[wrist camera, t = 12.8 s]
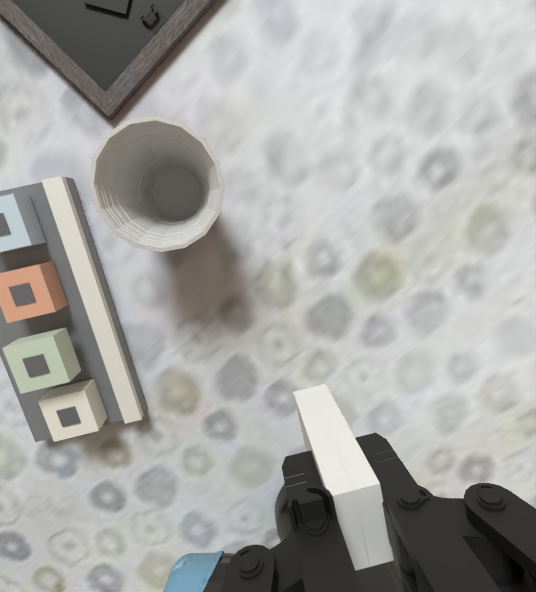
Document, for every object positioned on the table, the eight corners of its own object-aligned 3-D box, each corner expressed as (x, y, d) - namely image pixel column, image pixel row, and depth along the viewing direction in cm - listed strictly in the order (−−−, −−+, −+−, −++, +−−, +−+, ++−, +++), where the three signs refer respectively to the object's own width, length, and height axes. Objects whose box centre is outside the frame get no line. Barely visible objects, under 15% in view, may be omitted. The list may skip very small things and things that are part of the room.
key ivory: (107, 416, 45) (98, 431, 42) (65, 427, 45) (53, 442, 42) (94, 378, 44) (83, 390, 41) (51, 389, 44) (37, 402, 41)
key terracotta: (68, 304, 42) (55, 311, 39) (23, 315, 42) (6, 323, 39) (52, 260, 41) (37, 264, 38) (6, 271, 41) (-13, 276, 38)
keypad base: (147, 407, 48) (141, 419, 45) (43, 432, 47) (31, 447, 44) (73, 178, 42) (61, 176, 39) (-47, 205, 41) (-69, 204, 38)
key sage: (81, 370, 42) (69, 382, 38) (35, 381, 41) (19, 394, 38) (66, 327, 40) (52, 336, 37) (18, 338, 40) (1, 348, 37)
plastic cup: (153, 257, 44) (124, 272, 32) (111, 164, 42) (63, 144, 30) (240, 222, 44) (243, 225, 32) (203, 128, 42) (192, 94, 30)
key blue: (46, 242, 41) (30, 244, 37) (-1, 253, 40) (-21, 256, 37) (29, 195, 39) (12, 193, 36) (-19, 206, 39) (-41, 205, 36)
